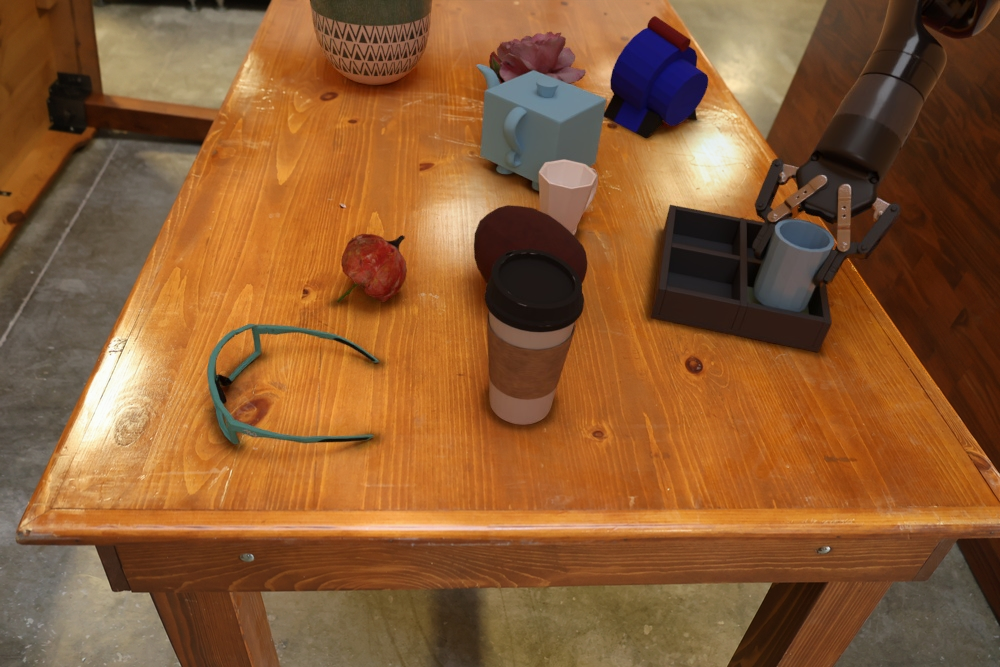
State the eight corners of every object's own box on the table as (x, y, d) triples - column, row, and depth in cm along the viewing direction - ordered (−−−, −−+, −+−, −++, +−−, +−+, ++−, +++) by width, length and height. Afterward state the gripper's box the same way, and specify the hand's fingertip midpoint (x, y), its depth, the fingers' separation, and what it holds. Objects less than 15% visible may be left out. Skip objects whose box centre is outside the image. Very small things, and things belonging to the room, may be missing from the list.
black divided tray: (807, 260, 96) (818, 232, 93) (818, 352, 82) (832, 323, 80) (662, 232, 98) (669, 204, 95) (650, 317, 85) (658, 288, 82)
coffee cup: (524, 360, 78) (541, 235, 68) (582, 409, 73) (609, 283, 63) (458, 394, 73) (465, 266, 64) (515, 449, 69) (533, 320, 59)
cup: (519, 229, 96) (526, 171, 91) (568, 201, 102) (577, 145, 97) (563, 253, 93) (573, 194, 87) (611, 223, 99) (623, 166, 93)
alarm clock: (648, 97, 130) (668, 5, 120) (707, 125, 123) (733, 30, 113) (599, 113, 123) (616, 18, 113) (658, 144, 117) (681, 45, 107)
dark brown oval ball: (545, 348, 79) (558, 266, 73) (446, 294, 85) (450, 214, 78) (600, 299, 86) (617, 220, 80) (506, 252, 92) (514, 175, 85)
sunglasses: (225, 346, 76) (223, 307, 72) (378, 359, 78) (382, 321, 75) (192, 457, 65) (188, 416, 62) (371, 468, 68) (375, 429, 64)
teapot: (603, 167, 110) (620, 79, 101) (537, 207, 100) (549, 113, 92) (506, 124, 118) (513, 39, 109) (436, 157, 108) (438, 67, 100)
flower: (603, 80, 126) (594, 18, 121) (544, 116, 119) (531, 51, 113) (538, 76, 136) (526, 18, 130) (479, 108, 129) (464, 48, 123)
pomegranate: (365, 337, 82) (436, 277, 81) (317, 297, 77) (392, 233, 76) (351, 301, 87) (418, 244, 86) (306, 262, 83) (376, 201, 82)
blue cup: (806, 285, 86) (832, 225, 81) (809, 318, 82) (837, 256, 77) (752, 274, 87) (774, 214, 82) (752, 306, 83) (776, 244, 77)
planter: (410, 51, 137) (410, -83, 123) (450, 96, 124) (456, -48, 110) (300, 60, 130) (287, -80, 116) (331, 109, 117) (321, -42, 103)
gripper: (800, 91, 80) (720, 232, 80) (943, 139, 74) (855, 292, 74) (803, 123, 87) (728, 253, 87) (933, 170, 81) (852, 309, 81)
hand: (787, 270), depth 81 cm, fingers closed on blue cup, 6 cm apart
